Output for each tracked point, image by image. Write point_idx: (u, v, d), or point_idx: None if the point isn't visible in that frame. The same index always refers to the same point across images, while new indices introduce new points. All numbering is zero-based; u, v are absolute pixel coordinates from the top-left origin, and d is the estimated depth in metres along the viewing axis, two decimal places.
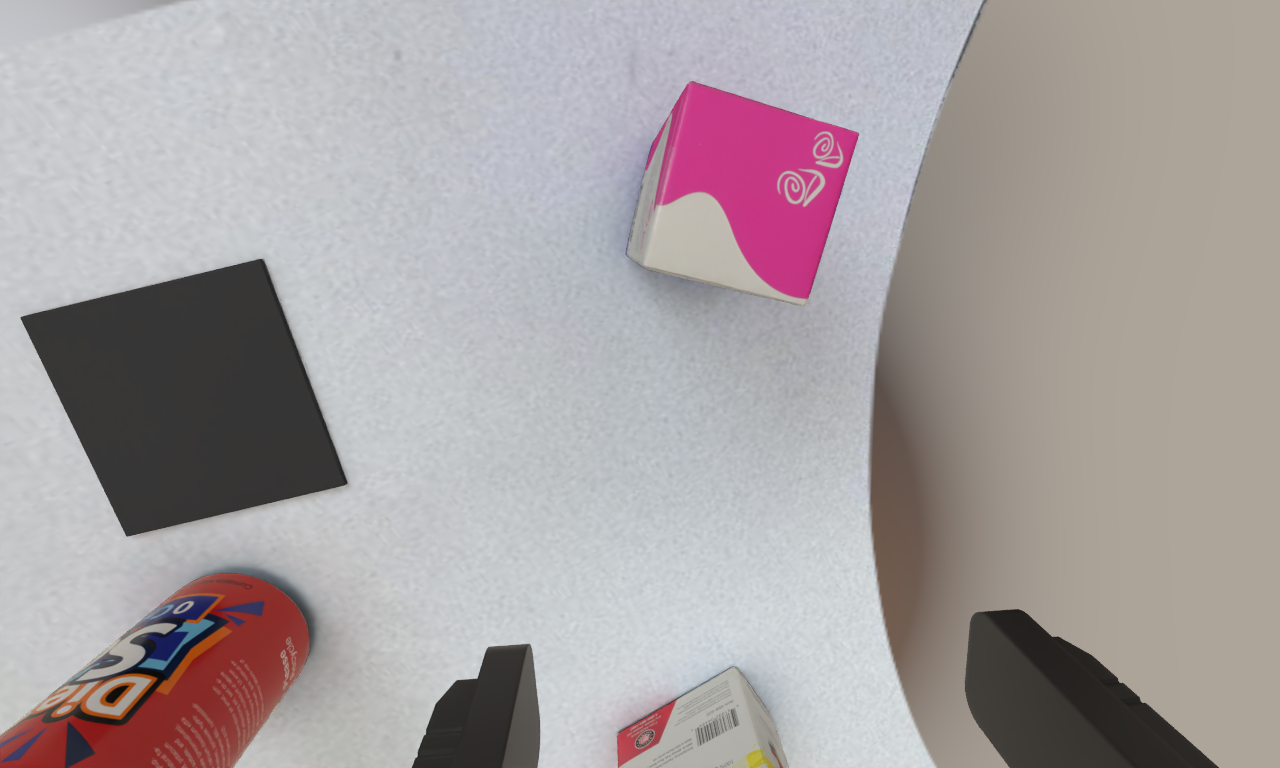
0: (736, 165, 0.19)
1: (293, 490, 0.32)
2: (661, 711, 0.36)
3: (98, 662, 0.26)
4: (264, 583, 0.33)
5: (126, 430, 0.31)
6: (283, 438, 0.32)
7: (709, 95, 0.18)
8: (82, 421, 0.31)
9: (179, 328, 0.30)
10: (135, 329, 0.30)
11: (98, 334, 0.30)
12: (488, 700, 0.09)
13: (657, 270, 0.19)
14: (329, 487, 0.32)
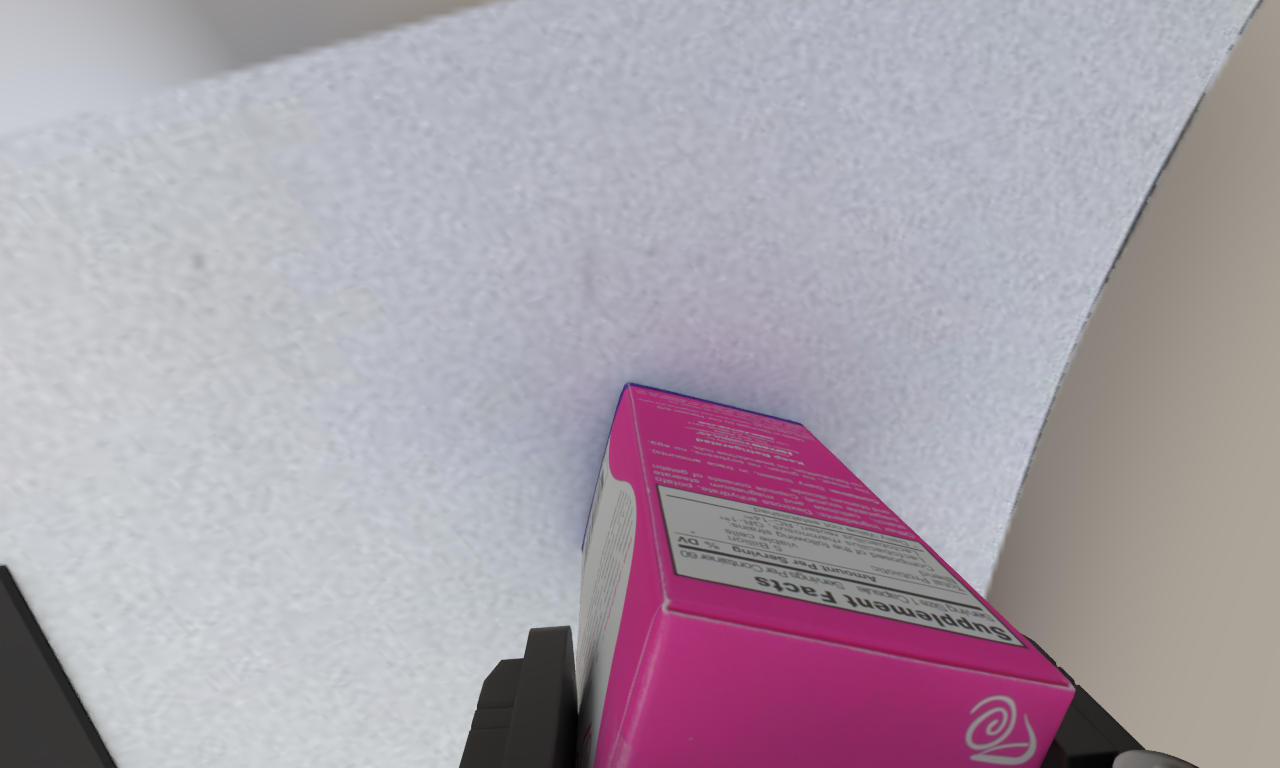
0: None
1: None
2: None
3: None
4: None
5: None
6: None
7: (714, 637, 0.07)
8: None
9: None
10: None
11: None
12: (536, 677, 0.10)
13: None
14: None
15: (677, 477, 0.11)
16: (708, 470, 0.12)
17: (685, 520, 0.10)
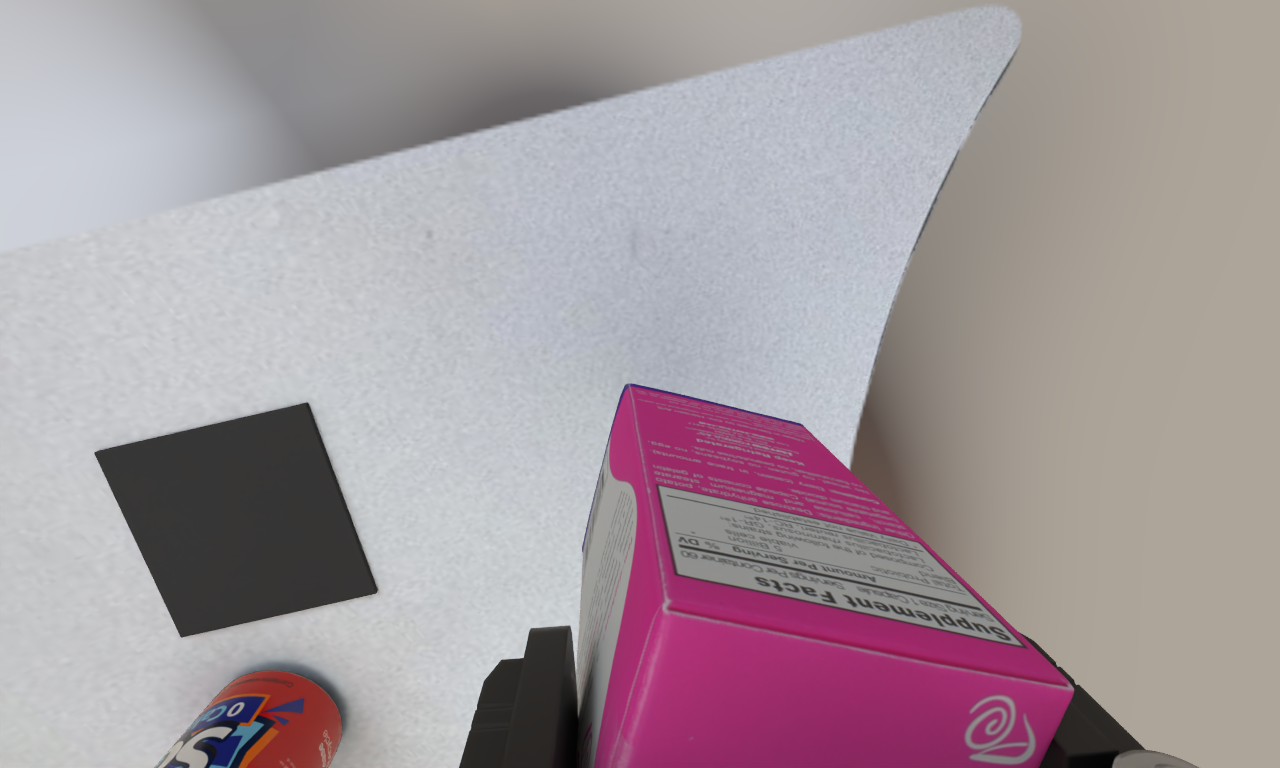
0: None
1: (330, 598, 0.36)
2: None
3: None
4: (303, 679, 0.37)
5: (184, 547, 0.35)
6: (322, 554, 0.36)
7: (715, 637, 0.07)
8: (145, 540, 0.35)
9: (233, 461, 0.34)
10: (194, 462, 0.34)
11: (162, 467, 0.34)
12: (536, 677, 0.10)
13: None
14: (362, 595, 0.36)
15: (677, 477, 0.11)
16: (708, 471, 0.12)
17: (686, 520, 0.10)
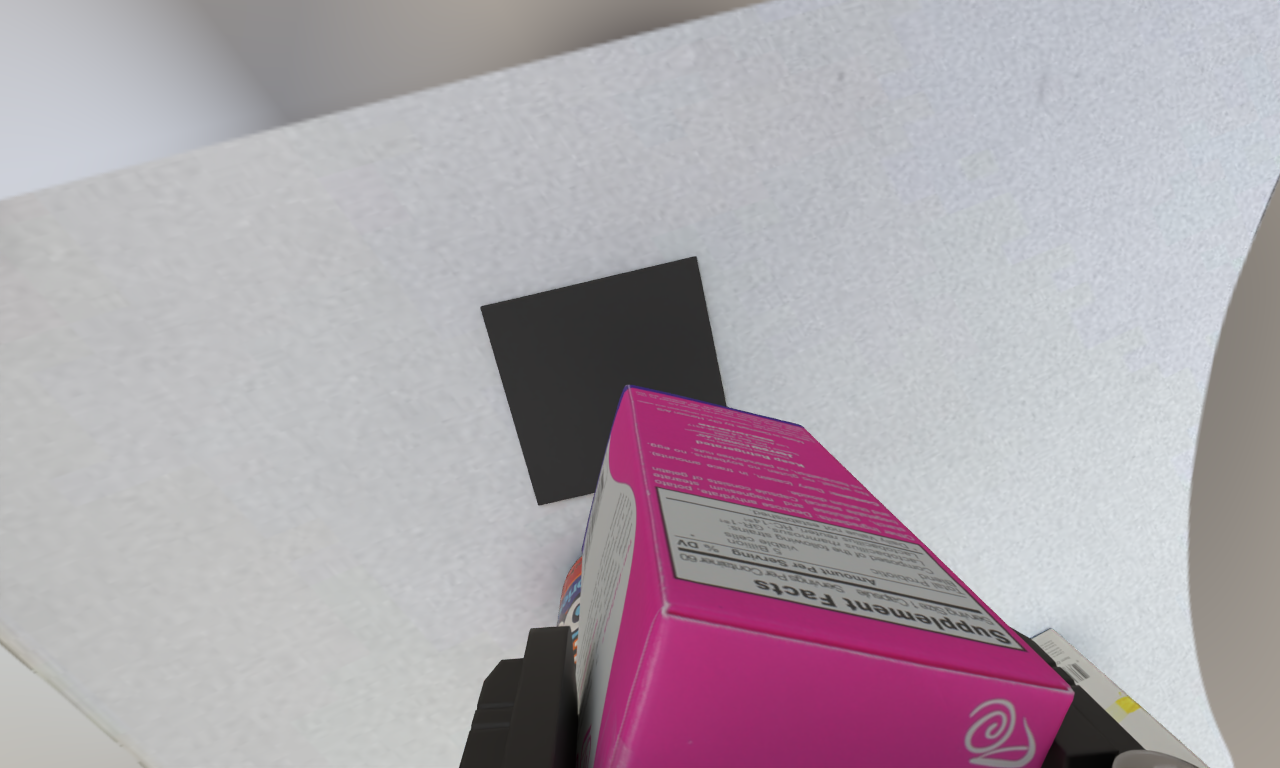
0: None
1: None
2: None
3: None
4: None
5: (555, 409, 0.35)
6: None
7: (714, 641, 0.07)
8: (517, 401, 0.35)
9: (616, 318, 0.34)
10: (578, 318, 0.34)
11: (545, 323, 0.34)
12: (536, 677, 0.10)
13: None
14: None
15: (677, 480, 0.11)
16: (708, 473, 0.12)
17: (685, 523, 0.10)
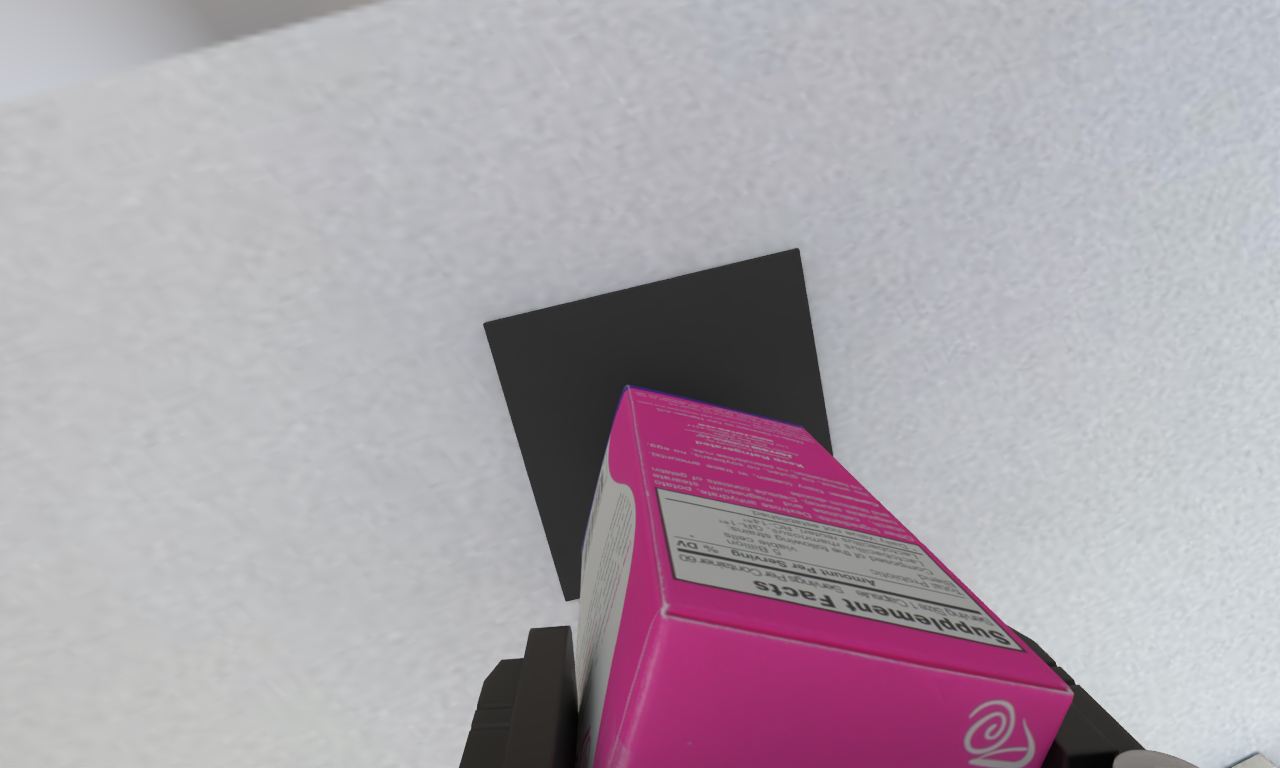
0: None
1: None
2: None
3: None
4: None
5: (590, 468, 0.24)
6: None
7: (713, 642, 0.07)
8: (537, 458, 0.24)
9: (681, 338, 0.23)
10: (625, 339, 0.23)
11: (578, 346, 0.23)
12: (536, 677, 0.10)
13: None
14: None
15: (676, 480, 0.11)
16: (707, 473, 0.12)
17: (685, 523, 0.10)
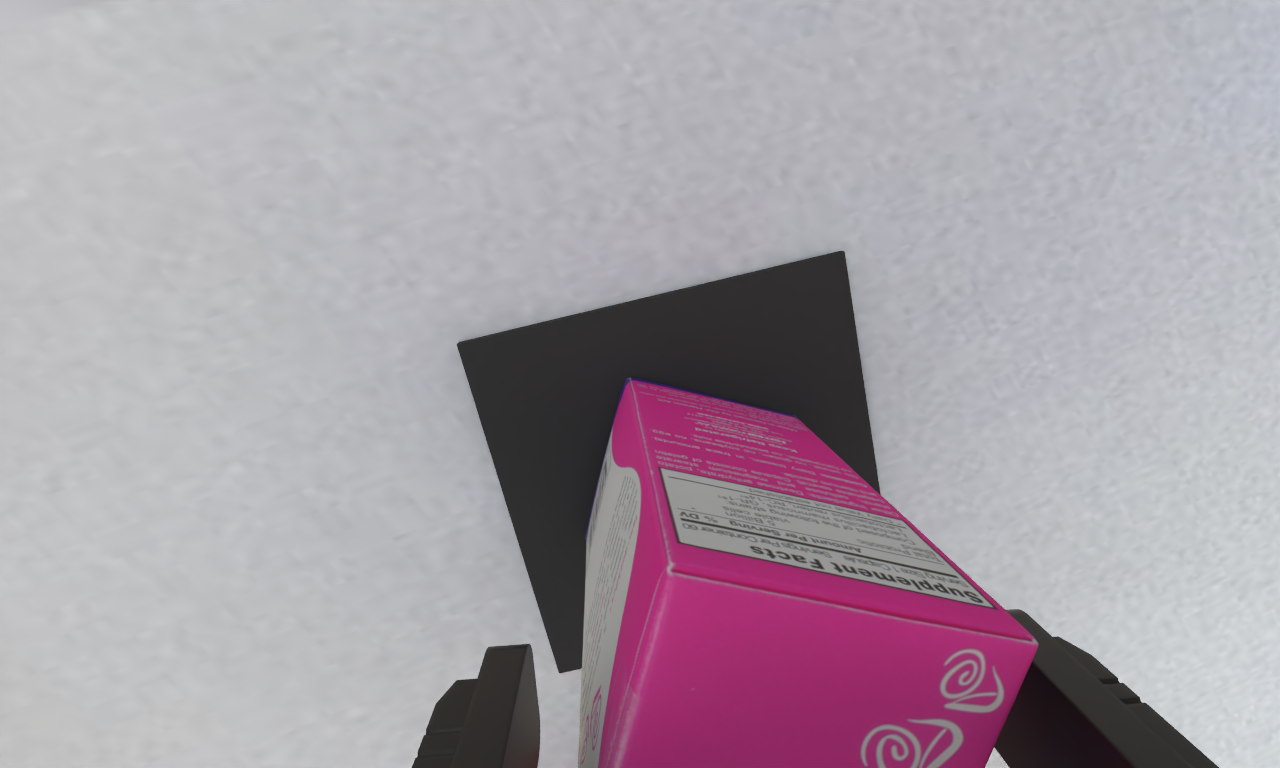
0: (774, 722, 0.09)
1: None
2: None
3: None
4: None
5: (588, 517, 0.20)
6: None
7: (714, 596, 0.08)
8: (524, 505, 0.20)
9: (699, 361, 0.19)
10: (631, 362, 0.19)
11: (573, 370, 0.19)
12: (488, 700, 0.09)
13: None
14: None
15: (678, 462, 0.12)
16: (707, 456, 0.13)
17: (686, 498, 0.10)
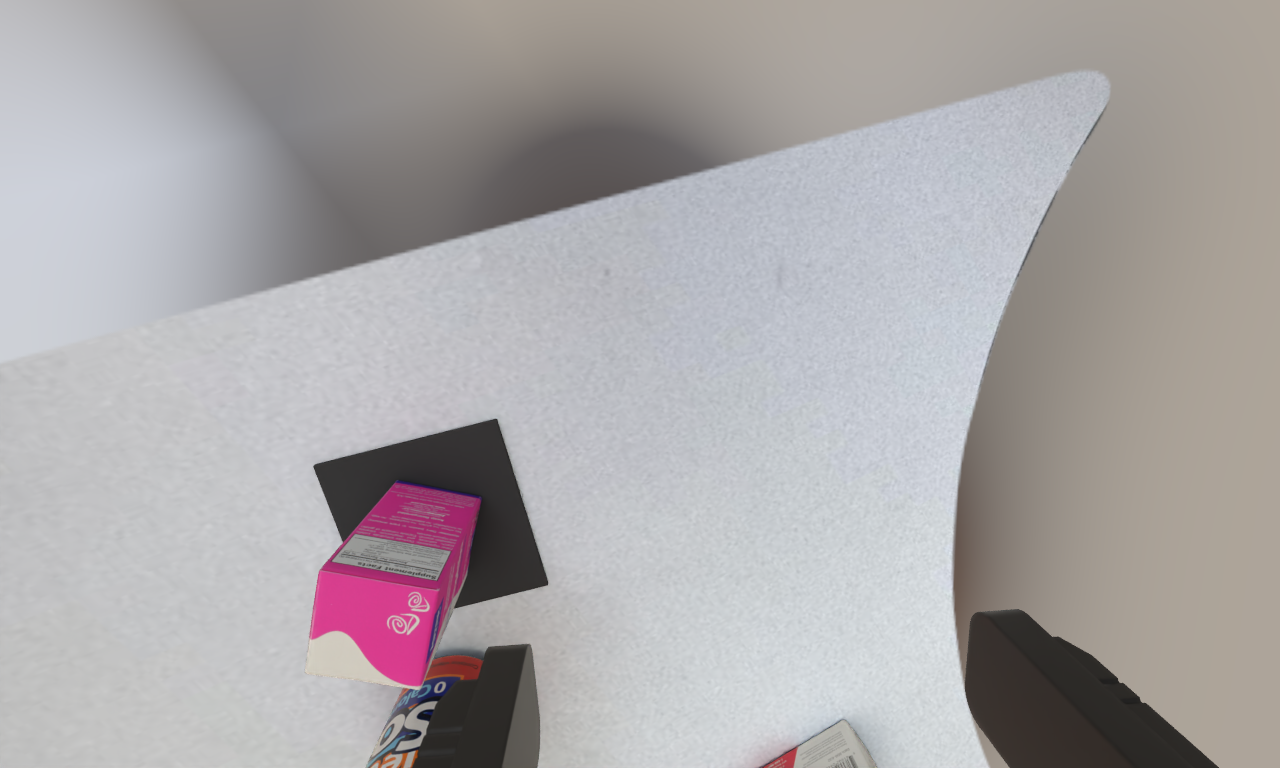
0: (358, 615, 0.29)
1: (507, 590, 0.41)
2: (786, 756, 0.45)
3: (402, 735, 0.35)
4: None
5: None
6: (503, 550, 0.41)
7: (333, 577, 0.28)
8: None
9: (431, 471, 0.39)
10: (398, 472, 0.39)
11: (370, 477, 0.39)
12: (488, 700, 0.09)
13: None
14: (535, 587, 0.41)
15: (367, 530, 0.32)
16: (385, 527, 0.33)
17: (352, 546, 0.31)
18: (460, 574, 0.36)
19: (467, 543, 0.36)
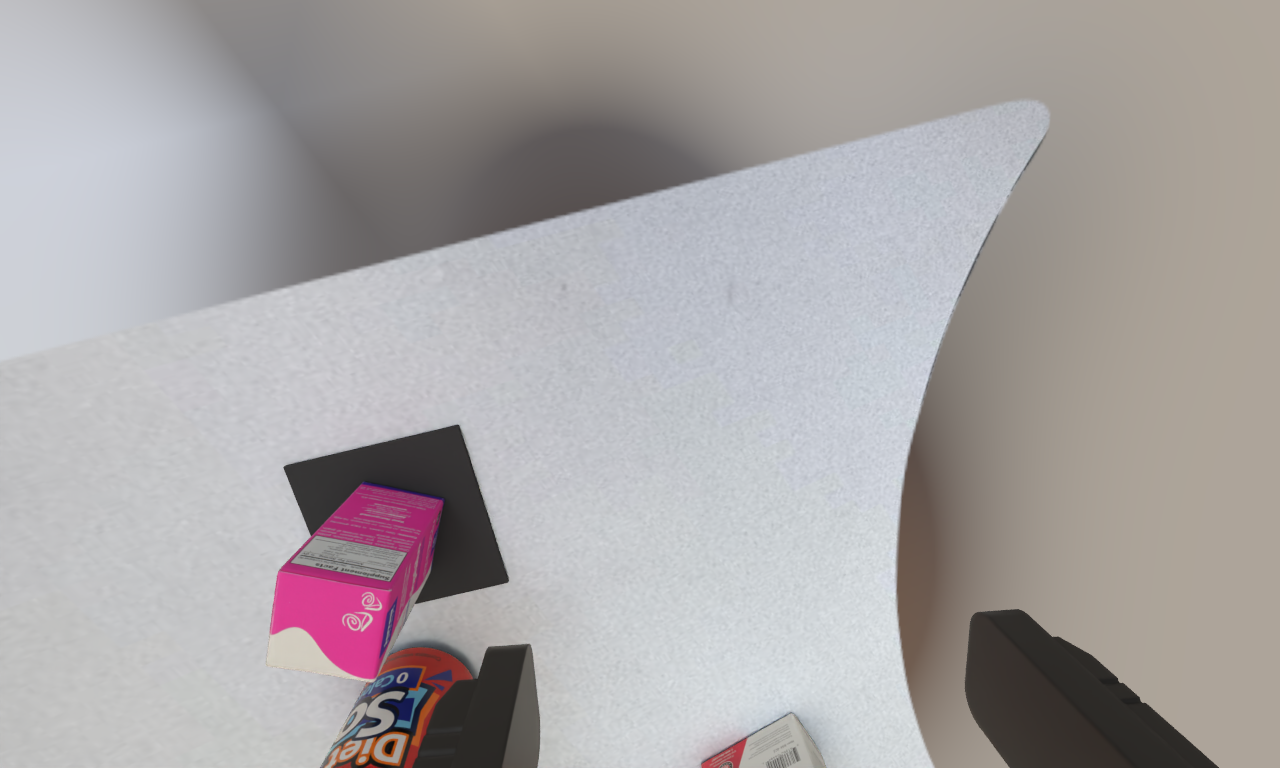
0: (314, 612, 0.31)
1: (469, 586, 0.43)
2: (735, 747, 0.48)
3: (363, 722, 0.37)
4: (447, 654, 0.44)
5: None
6: (465, 549, 0.43)
7: (291, 577, 0.30)
8: None
9: (396, 473, 0.41)
10: (364, 474, 0.41)
11: (338, 478, 0.41)
12: (488, 700, 0.09)
13: (276, 666, 0.32)
14: (496, 584, 0.44)
15: (328, 532, 0.34)
16: (346, 528, 0.35)
17: (312, 547, 0.33)
18: (420, 573, 0.38)
19: (427, 543, 0.38)
